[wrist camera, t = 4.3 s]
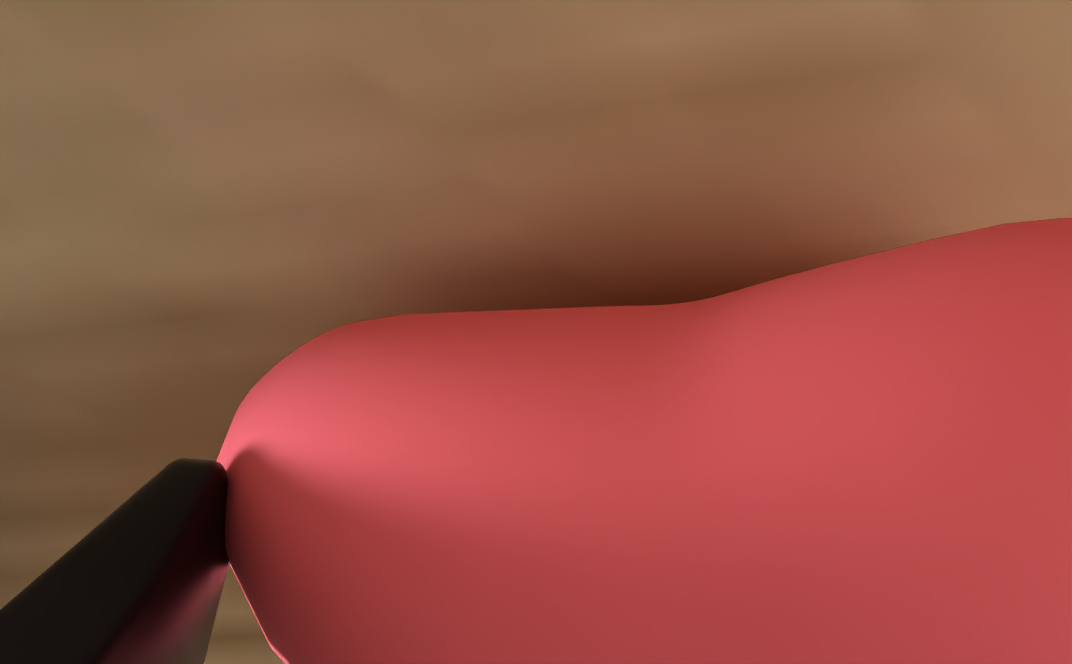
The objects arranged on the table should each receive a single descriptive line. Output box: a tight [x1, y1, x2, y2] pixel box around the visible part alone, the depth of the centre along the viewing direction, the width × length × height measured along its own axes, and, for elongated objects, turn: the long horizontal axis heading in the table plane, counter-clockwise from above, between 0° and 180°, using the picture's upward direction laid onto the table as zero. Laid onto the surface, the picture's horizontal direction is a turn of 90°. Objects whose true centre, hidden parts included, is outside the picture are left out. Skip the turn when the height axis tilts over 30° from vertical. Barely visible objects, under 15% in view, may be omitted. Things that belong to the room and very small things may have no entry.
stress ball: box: [216, 218, 1072, 664], centre depth 9 cm, size 5×9×6 cm, turn 92°
